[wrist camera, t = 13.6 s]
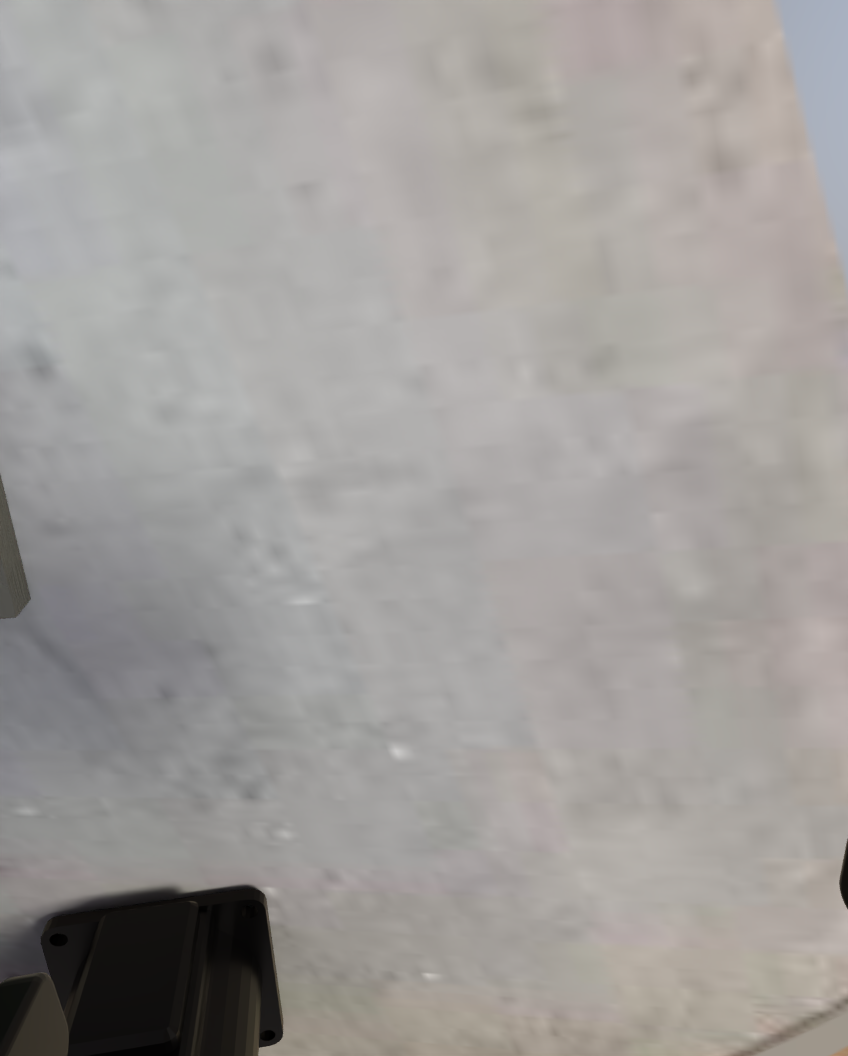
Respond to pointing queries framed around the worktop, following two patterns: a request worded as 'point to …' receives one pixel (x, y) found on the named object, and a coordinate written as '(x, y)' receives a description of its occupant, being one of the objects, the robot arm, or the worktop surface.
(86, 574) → the worktop surface
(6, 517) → the chassis plate
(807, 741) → the worktop surface
